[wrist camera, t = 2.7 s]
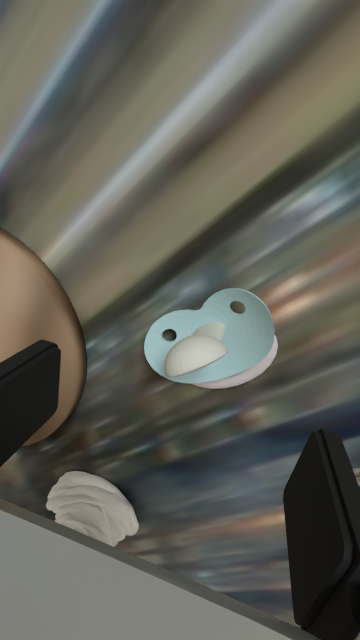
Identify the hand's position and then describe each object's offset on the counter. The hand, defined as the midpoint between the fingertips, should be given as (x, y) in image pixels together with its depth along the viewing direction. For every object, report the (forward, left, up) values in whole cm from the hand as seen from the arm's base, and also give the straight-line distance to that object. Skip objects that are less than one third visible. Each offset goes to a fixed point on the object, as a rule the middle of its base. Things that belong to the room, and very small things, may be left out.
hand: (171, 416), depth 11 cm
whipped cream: (+5, +19, -8) cm, 21 cm away
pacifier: (-1, 0, -8) cm, 8 cm away
